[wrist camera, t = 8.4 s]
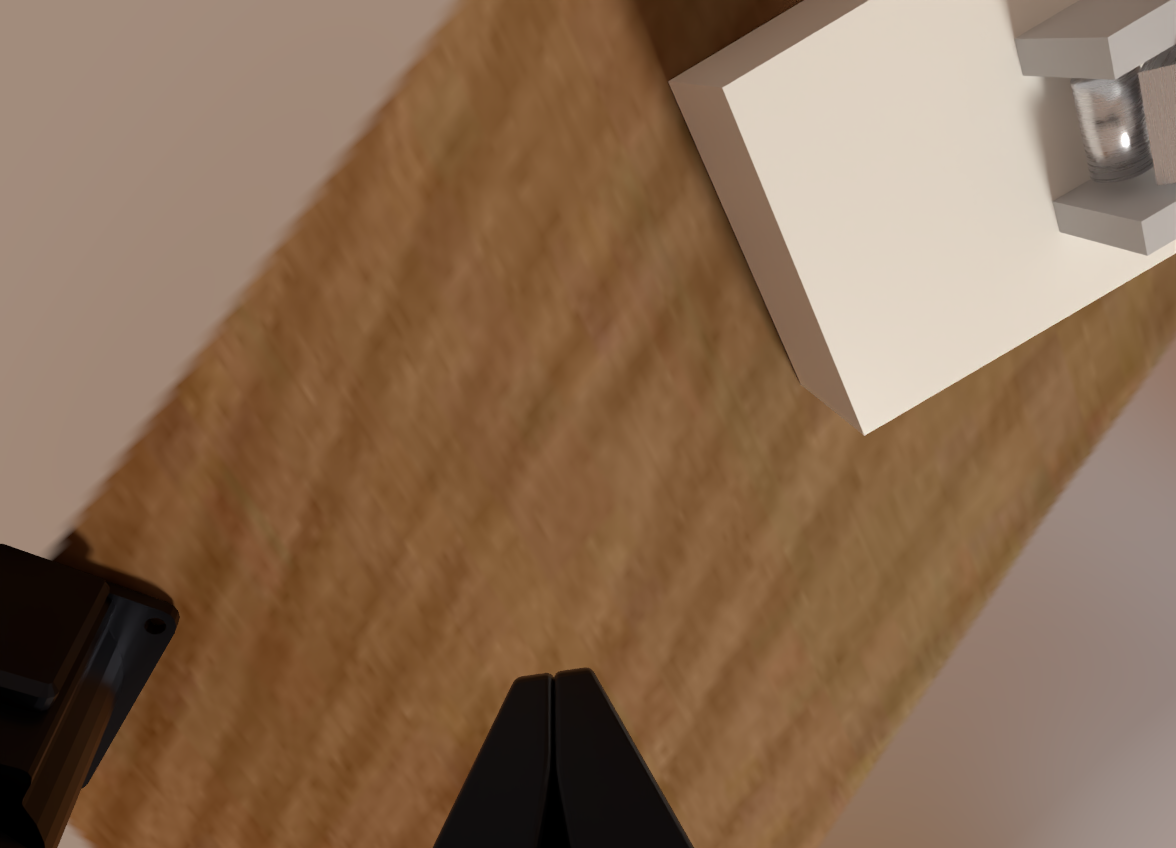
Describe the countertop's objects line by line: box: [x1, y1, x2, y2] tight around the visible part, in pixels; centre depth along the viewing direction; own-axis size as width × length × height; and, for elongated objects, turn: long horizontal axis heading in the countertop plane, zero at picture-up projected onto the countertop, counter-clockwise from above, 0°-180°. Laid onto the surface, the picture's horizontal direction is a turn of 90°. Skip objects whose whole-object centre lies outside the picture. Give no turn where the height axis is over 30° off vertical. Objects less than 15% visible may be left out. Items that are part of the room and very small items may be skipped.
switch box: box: [668, 0, 1176, 436], centre depth 19 cm, size 14×9×6 cm, turn 118°
